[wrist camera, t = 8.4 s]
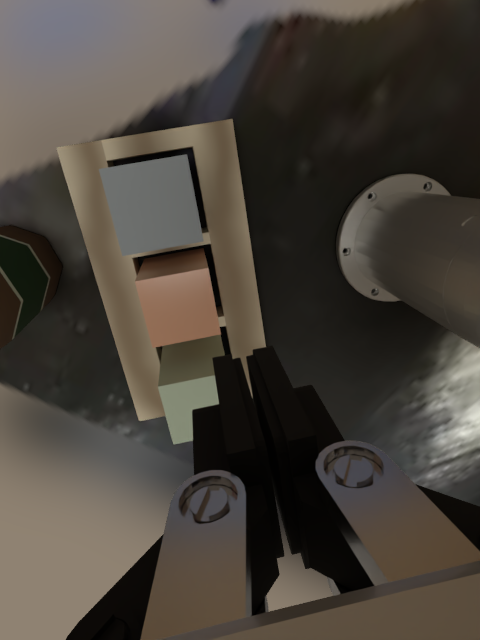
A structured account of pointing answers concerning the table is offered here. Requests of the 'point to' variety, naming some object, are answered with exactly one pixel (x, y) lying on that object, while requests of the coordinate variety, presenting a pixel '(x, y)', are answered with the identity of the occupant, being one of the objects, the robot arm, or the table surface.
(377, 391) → the table surface
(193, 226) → the slate key
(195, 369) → the sage key
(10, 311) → the beer bottle
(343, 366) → the table surface
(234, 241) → the birch board
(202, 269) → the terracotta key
